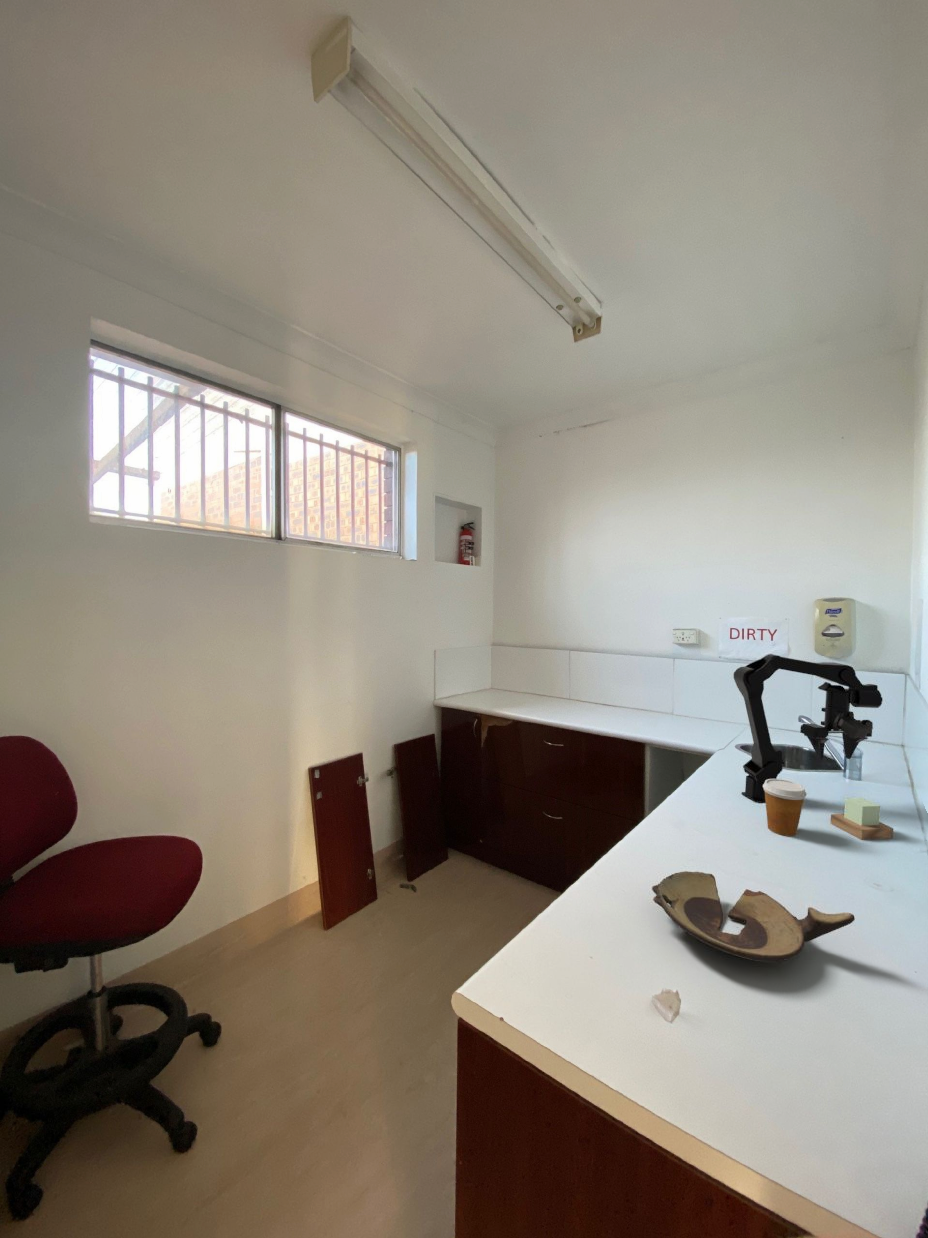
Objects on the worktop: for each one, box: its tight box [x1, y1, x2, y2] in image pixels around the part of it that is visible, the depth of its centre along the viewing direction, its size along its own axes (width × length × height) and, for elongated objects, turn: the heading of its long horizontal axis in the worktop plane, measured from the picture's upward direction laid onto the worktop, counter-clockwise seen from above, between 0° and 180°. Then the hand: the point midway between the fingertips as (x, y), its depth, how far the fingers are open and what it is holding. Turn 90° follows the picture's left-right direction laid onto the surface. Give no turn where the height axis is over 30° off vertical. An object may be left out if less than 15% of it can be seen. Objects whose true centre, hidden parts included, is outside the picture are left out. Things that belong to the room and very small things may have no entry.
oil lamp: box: [651, 870, 856, 963], centre depth 88 cm, size 22×30×8 cm
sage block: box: [843, 797, 881, 826], centre depth 131 cm, size 5×5×5 cm
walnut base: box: [830, 813, 894, 841], centre depth 131 cm, size 9×9×2 cm
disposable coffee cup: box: [763, 778, 808, 837], centre depth 130 cm, size 10×10×12 cm
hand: (834, 759), depth 149 cm, fingers open, 9 cm apart
